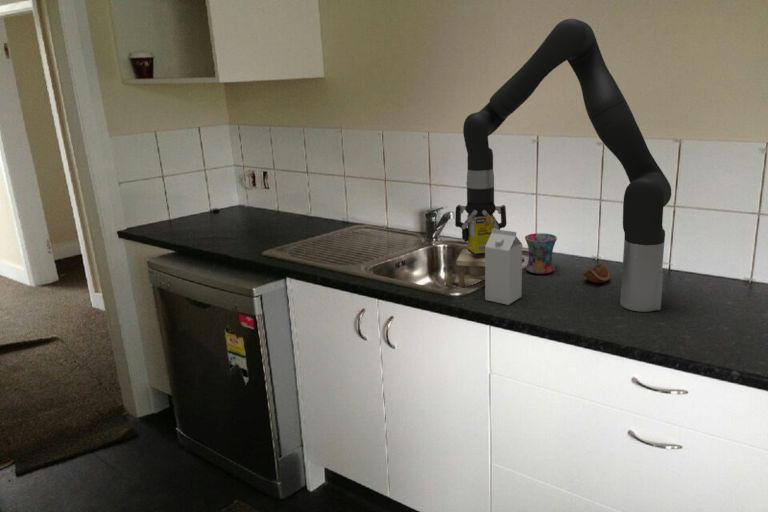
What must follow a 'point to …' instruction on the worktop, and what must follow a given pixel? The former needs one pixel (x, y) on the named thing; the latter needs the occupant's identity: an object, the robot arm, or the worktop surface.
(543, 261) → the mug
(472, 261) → the stool
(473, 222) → the supplement box
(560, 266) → the worktop surface
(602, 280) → the fruit slice
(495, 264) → the white milk carton
